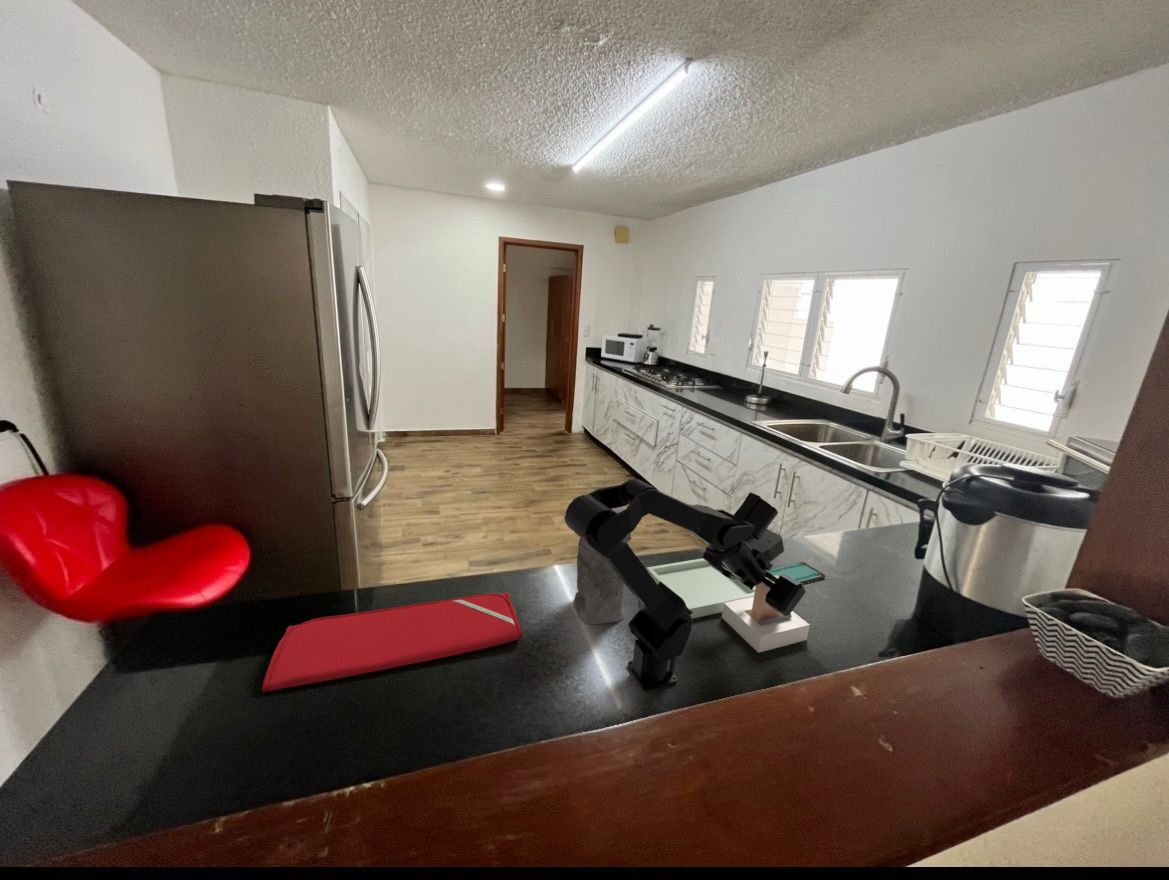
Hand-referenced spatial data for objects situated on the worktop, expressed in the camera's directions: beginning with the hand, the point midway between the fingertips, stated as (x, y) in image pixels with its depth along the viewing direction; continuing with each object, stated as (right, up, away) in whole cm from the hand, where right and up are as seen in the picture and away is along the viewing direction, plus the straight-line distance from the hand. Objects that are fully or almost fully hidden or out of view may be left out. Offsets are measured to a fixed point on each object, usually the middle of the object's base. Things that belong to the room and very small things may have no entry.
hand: (769, 593), depth 92 cm
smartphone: (+15, -4, +23) cm, 27 cm away
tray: (-10, -4, +14) cm, 18 cm away
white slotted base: (0, -8, +2) cm, 8 cm away
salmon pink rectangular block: (0, -8, +2) cm, 8 cm away
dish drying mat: (-70, -7, -6) cm, 71 cm away
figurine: (-34, -5, +5) cm, 35 cm away
